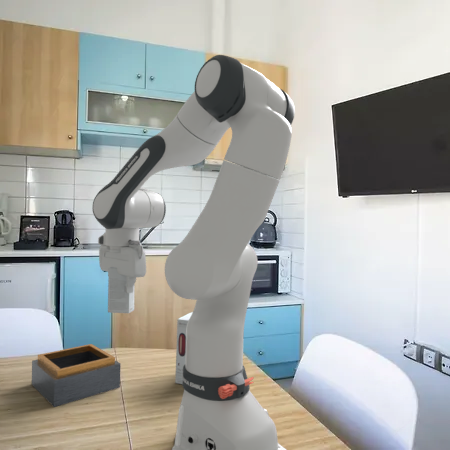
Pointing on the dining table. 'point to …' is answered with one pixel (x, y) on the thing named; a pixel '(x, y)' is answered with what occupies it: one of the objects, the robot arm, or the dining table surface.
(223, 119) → the robot arm
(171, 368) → the dining table surface
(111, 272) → the skincare box
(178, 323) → the supplement box
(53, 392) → the grey open box
